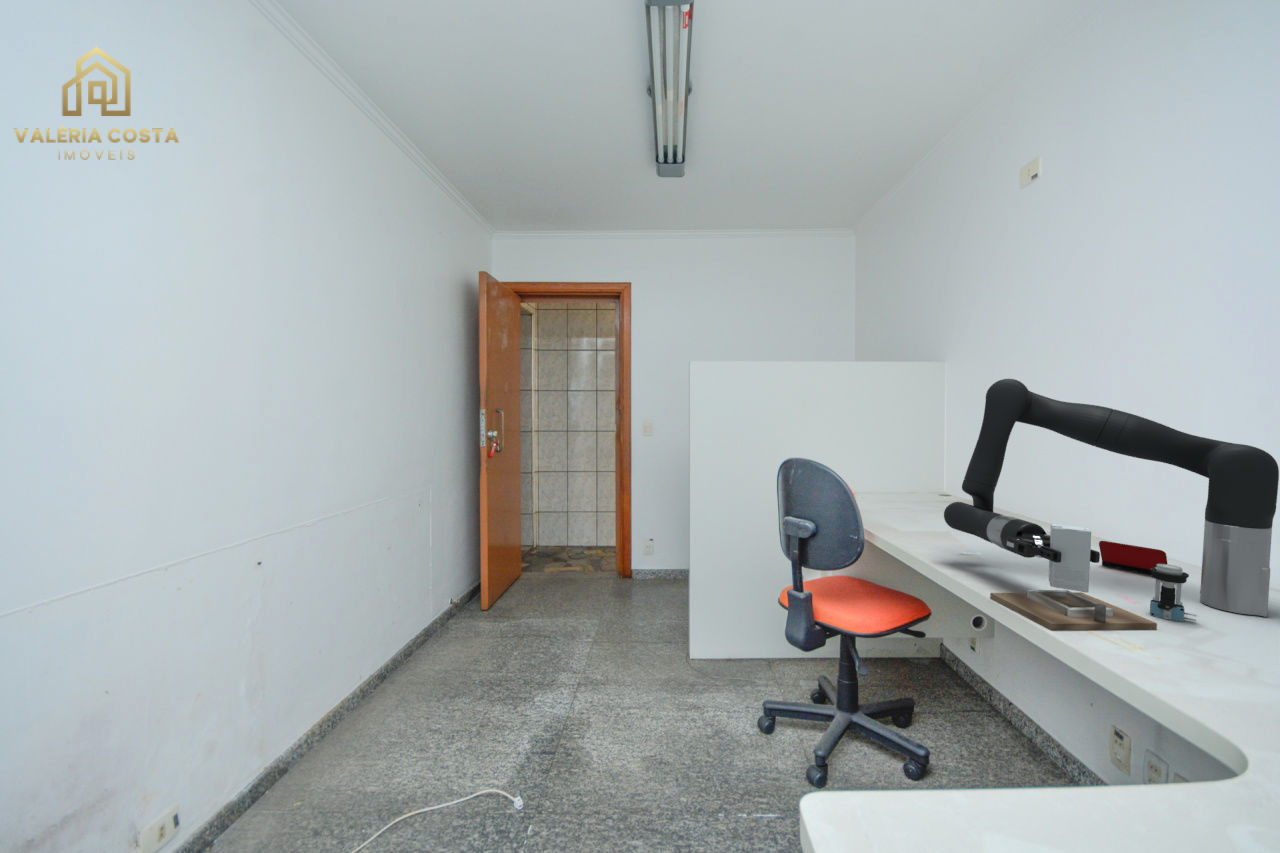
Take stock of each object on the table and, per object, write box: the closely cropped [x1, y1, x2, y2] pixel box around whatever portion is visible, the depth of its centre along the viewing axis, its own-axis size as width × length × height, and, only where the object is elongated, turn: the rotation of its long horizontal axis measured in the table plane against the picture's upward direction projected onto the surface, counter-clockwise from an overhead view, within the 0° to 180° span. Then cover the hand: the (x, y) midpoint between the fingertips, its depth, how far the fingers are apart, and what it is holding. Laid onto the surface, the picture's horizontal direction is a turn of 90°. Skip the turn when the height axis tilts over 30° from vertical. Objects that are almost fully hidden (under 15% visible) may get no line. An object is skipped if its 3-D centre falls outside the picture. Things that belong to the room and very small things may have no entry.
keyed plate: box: [989, 589, 1158, 631], centre depth 107 cm, size 20×16×4 cm
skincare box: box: [1048, 523, 1092, 593], centre depth 106 cm, size 6×4×12 cm
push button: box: [1149, 563, 1197, 623], centre depth 104 cm, size 7×5×10 cm
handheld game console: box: [1098, 540, 1168, 576], centre depth 135 cm, size 12×11×7 cm
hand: (1078, 557), depth 104 cm, fingers closed on skincare box, 7 cm apart
